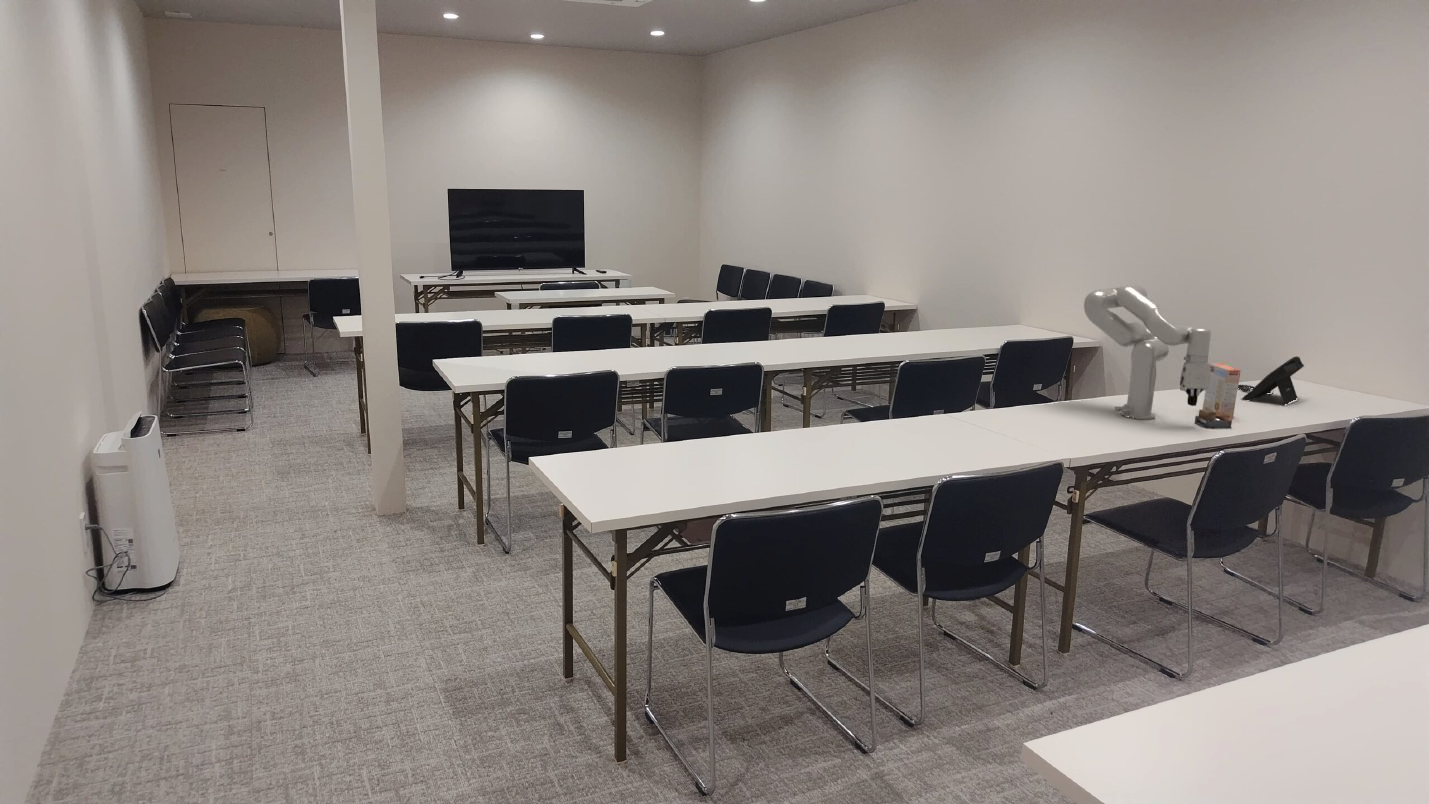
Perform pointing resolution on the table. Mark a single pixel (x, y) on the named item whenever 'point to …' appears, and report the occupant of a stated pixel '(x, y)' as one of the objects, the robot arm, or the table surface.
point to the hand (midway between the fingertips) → (1191, 405)
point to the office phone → (1277, 382)
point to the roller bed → (1216, 421)
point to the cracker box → (1222, 389)
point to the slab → (1207, 414)
